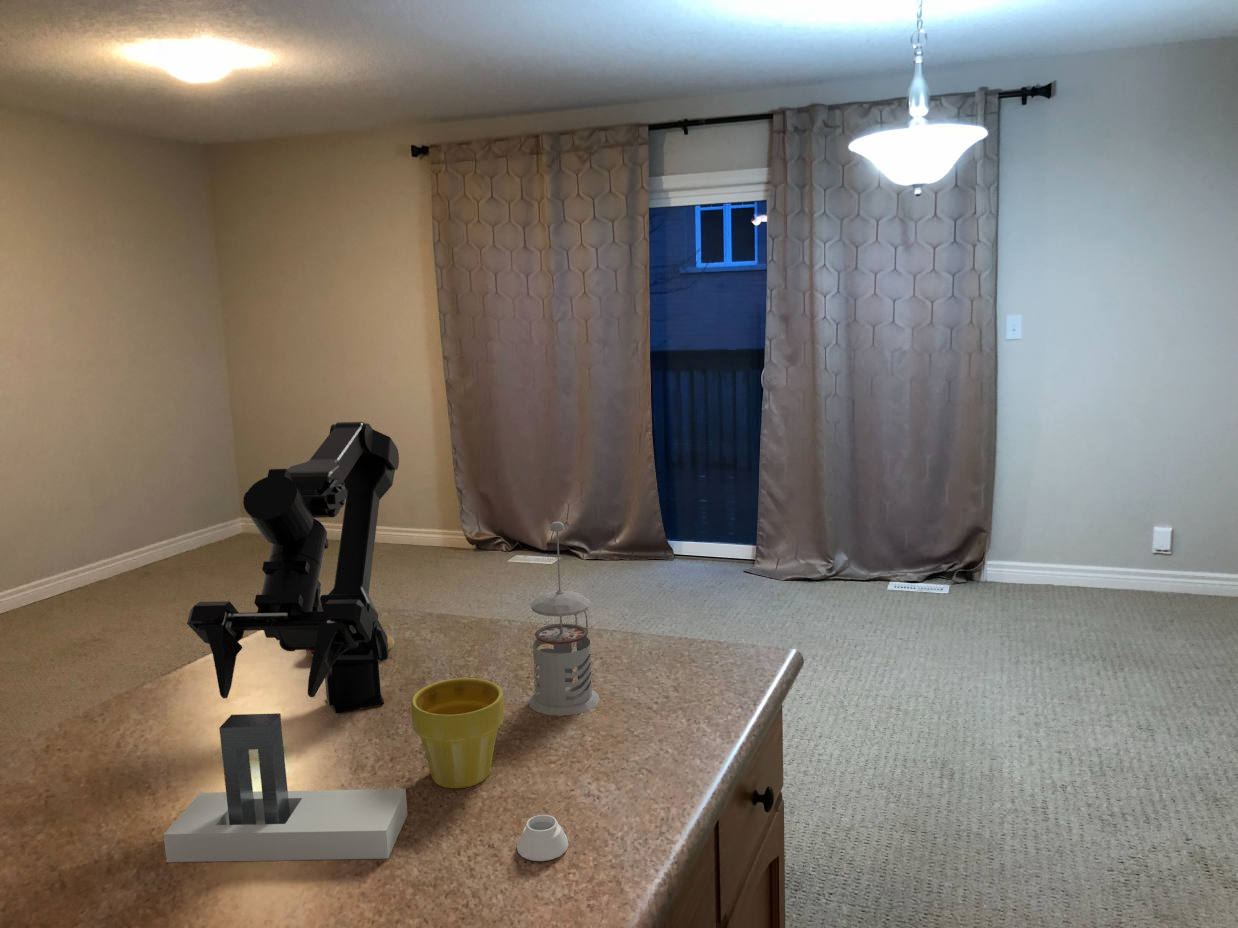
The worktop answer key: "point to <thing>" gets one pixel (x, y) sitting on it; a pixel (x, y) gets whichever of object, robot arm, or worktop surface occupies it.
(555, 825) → the white jar
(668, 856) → the worktop surface
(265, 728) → the clip
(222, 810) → the white slotted block
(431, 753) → the plant pot
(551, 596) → the french press
